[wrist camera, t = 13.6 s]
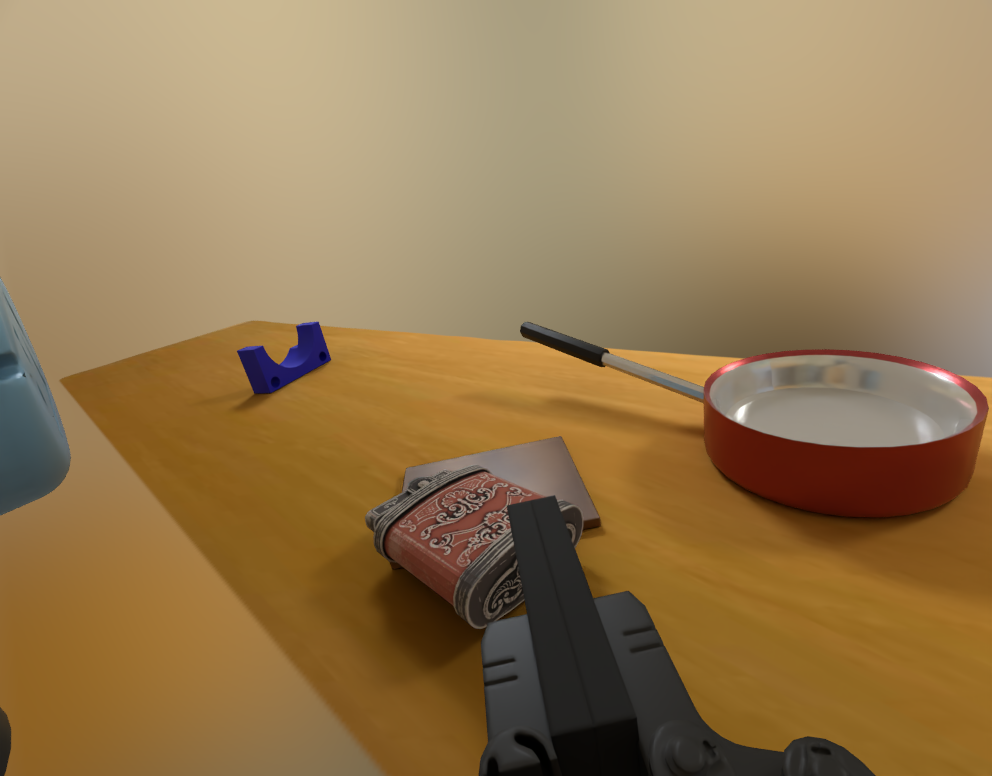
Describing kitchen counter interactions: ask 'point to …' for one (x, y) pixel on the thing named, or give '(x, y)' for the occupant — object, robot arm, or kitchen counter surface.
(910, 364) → the frying pan
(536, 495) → the lighter
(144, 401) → the kitchen counter surface
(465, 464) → the plate
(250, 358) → the blue notched block
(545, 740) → the robot arm
